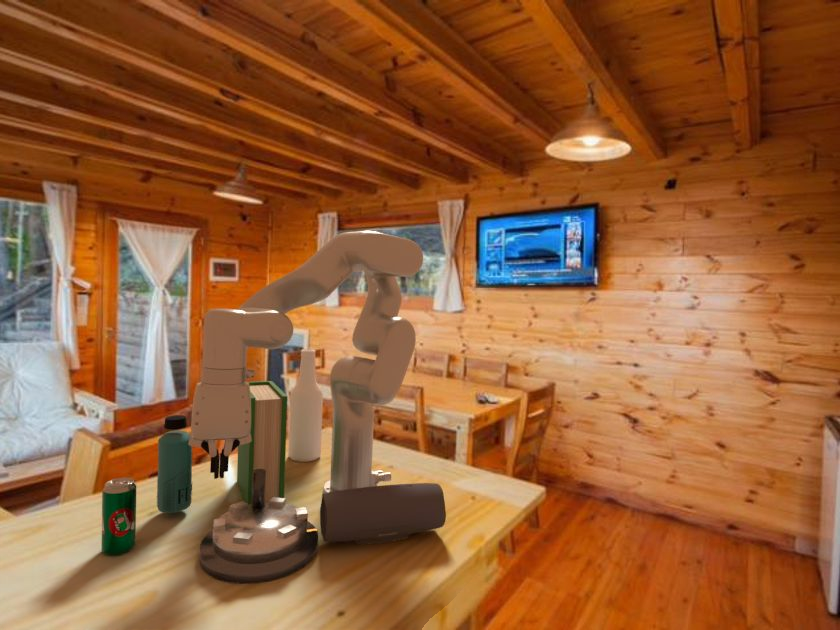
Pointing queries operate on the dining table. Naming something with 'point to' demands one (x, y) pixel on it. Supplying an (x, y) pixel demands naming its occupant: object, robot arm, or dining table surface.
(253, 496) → the brown round knobbed piece
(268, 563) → the dark brown round plate
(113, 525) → the soda can
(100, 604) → the dining table surface
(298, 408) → the white bottle
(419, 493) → the bluetooth speaker
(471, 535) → the dining table surface
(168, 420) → the beverage bottle
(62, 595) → the dining table surface
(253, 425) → the hardback book
